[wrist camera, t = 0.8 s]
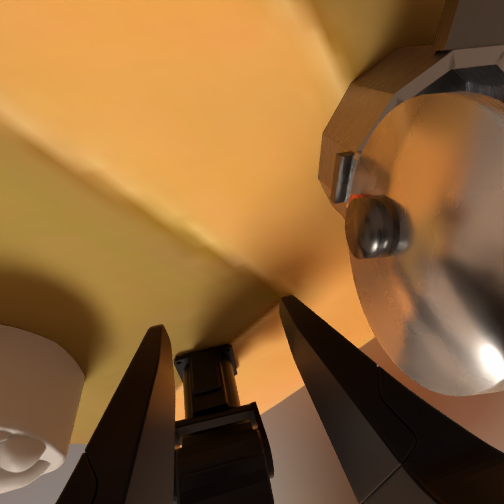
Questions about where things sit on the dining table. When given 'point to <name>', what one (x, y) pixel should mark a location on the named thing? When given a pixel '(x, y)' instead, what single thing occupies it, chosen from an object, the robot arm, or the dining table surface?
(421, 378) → the lid
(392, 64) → the pot
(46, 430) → the lumpy-topped squat cylinder
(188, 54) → the dining table surface
